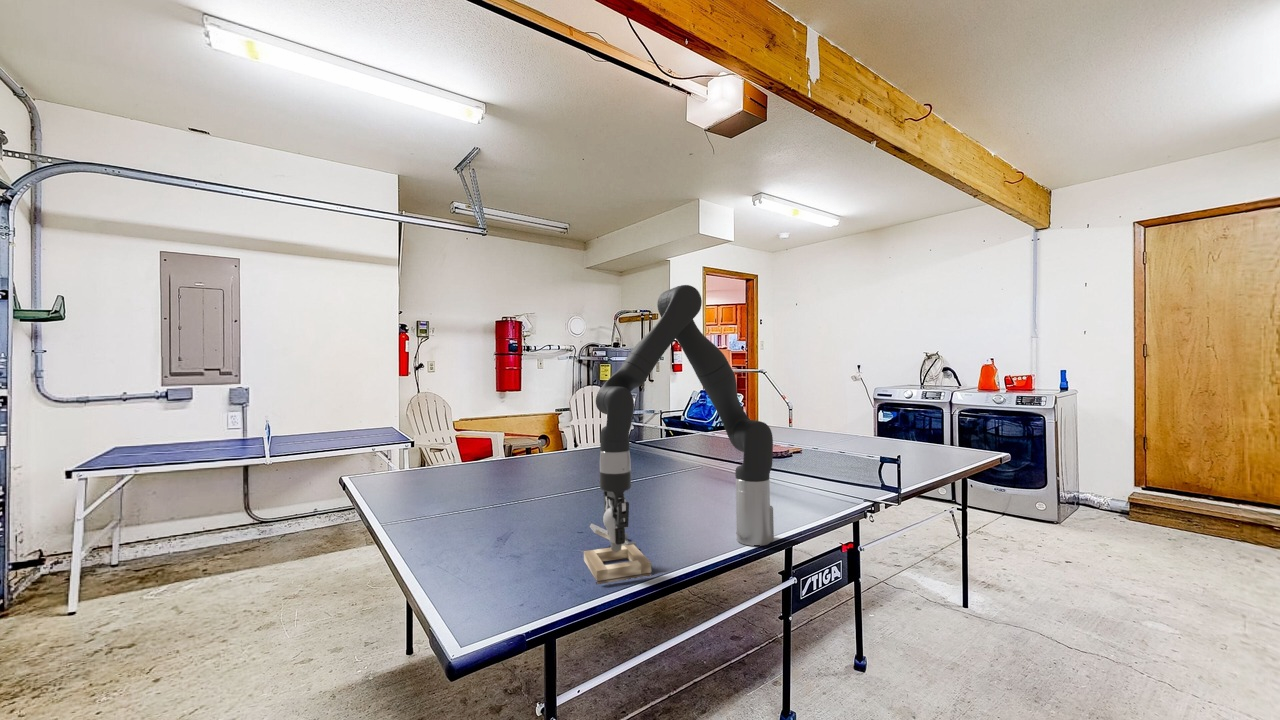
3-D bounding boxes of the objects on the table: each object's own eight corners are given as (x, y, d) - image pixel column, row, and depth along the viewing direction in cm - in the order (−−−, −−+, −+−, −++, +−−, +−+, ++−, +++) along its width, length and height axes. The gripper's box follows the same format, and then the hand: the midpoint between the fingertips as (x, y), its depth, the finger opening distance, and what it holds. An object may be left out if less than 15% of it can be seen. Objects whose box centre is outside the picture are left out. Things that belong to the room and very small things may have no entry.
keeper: (594, 533, 128) (596, 528, 128) (589, 527, 133) (591, 522, 134) (631, 551, 131) (634, 546, 131) (625, 544, 137) (627, 539, 137)
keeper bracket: (626, 541, 138) (626, 532, 138) (636, 552, 130) (636, 543, 130) (619, 542, 138) (619, 533, 138) (629, 553, 129) (629, 544, 129)
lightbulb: (625, 557, 116) (625, 510, 116) (600, 556, 117) (599, 509, 117) (631, 548, 122) (630, 503, 122) (607, 546, 123) (606, 502, 123)
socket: (633, 556, 127) (633, 544, 128) (651, 575, 115) (651, 562, 115) (583, 563, 123) (583, 551, 123) (596, 584, 111) (596, 570, 111)
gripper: (639, 473, 114) (640, 547, 114) (621, 462, 128) (622, 528, 127) (608, 476, 112) (609, 551, 111) (592, 465, 125) (593, 532, 125)
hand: (616, 539), depth 119 cm, fingers closed on lightbulb, 6 cm apart
